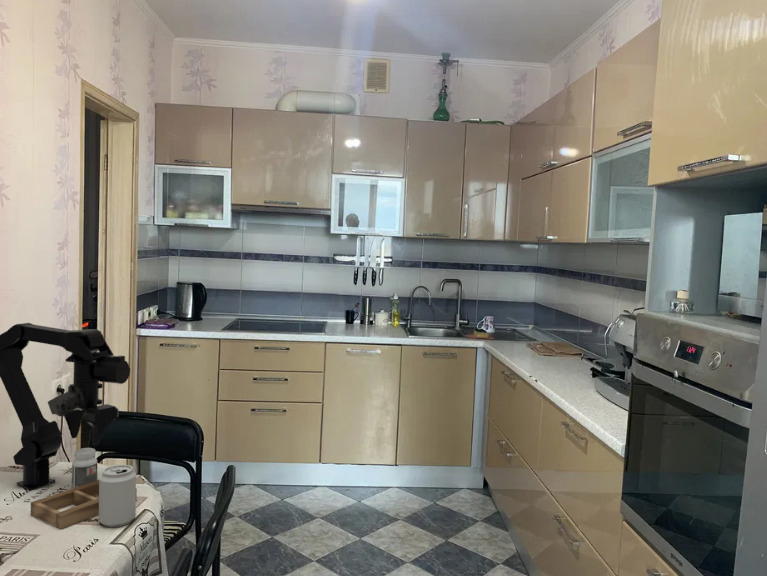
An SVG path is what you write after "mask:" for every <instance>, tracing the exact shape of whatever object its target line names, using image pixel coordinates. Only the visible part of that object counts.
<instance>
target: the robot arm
mask: <svg viewBox="0 0 767 576" xmlns="http://www.w3.org/2000/svg"><path fill="white" fill-rule="evenodd" d="M30 342H34V343H39V344H45V345H51V346H58V347H60V348H63V349H64V350H65V352H69V353H71V354H70V356H68V357H67V358H66V359H65V362H67V363H73V377H72V379H73V381H72V382H73V383H70V384H69V385H68V386H67V389H68V390H67V391H66V392H65V393H62V394H59V395H57V396H56V397H54V398H51V399H50V400H48V401H47V404H48V405H47V406H48V407H49V409H50V413H51V415H55V416H58V417H63V418H64V419H65V422H66V424H67V428H68V430H69V434H70V436H71V439H76V438H78V434H79V432H80V428H81V425H82V421H83V417H84V415H85V413H86V418H87V420H86V423H87V424H89V425H90V427H91V439H92V445H93V446H95V447H97V446H99V444H100V443H101V440H102V438H104V435H105V433H106V431H107V430H108V427H109V426H110V425H111V423H112V422H113V421H115V420H116V419H117V418H119V408H118V407H116V406H114V405H111V404H108V403H107V404H106V403H105V404H103V399H100V398H99V397H100V395H99V394H100V393H99V391H100V389H103V386H104V385H103V383H110V384H120V385H123V384H124V383H126V382H127V381H128V379H129V377H130V374H131V367H130V364H129V363H128V361H126V356H125V355H114V353H113V351H112V350H111V348H110V346H109V344H108V343H107V341H106V340H105V338H104V335H103V333H102V331H101V330H99V329H95V328H94V329H74V330H73V329H72V330H70V329H62V328H57V327H51V326H45V325H44V326H43V325H39V324H35V323H34V324H33V323H30V322H24V323H16V324H14V325H12V326H11V327H9V328H8V330H6V331H4V332H3V333H0V379H1V382H2V384H3V386H4V388H5V390H6V394H7V395H8V398H9V400H10V402H11V404H12V406H13V408H14V411H15V414H16V415H17V418H18V421H19V422H20V424H21V427H22V429H21V430H22V431H21V435H20V442H21V445H22V447H21V448H20V449H19V451H18V452H16V453H15V454H14V455H13V456H12V458H13V460H14V461H13V462H14V464H15V465H17V466H22V480H20V481H17V482H16V485H17V486H19V487H21V488H24V489H26V490H29V491H31V490H36V489H38V488H41V487H44V486H48V485H51V484H54V483H56V480H55V479H53V478H50V459H51V458H53V457H56V456H57V454H58V452H59V450H60V448H61V445H62V443H63V438H62V435H63V433H62V431H61V430H60V428H59V425H58V423H57V421H56V420H52V421H49V420H47V419H46V418H45V416H43V413H42V411H41V408H40V407H39V404H38V402H37V399H36V398H35V395H34V393H33V391H32V389H31V386H30V383H29V382H28V380H27V377H26V375H25V373H24V371H23V368H22V367H23V360H24V354H23V352H22V351H23V350H25V348H26V347H28V345H29V343H30Z"/></svg>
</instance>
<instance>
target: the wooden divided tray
mask: <svg viewBox="0 0 767 576" xmlns="http://www.w3.org/2000/svg"><path fill="white" fill-rule="evenodd" d="M137 491H138V489H137V487H136V494H137ZM97 496H98V497H97ZM72 505H75V506H73V507H70V508H67V509H65V510H62V511H59V510H61V509H64V508H66V507H69V506H72ZM30 516H31V517H33V518H36V519H37V520H38V519H39V520H40V521H42V522H45V523H46V524H48V525H51V526H53V527H54V528H57V529H59V530H63V529H66V528H68V527H71V526H73V525H74V526H75V525H76V524H79V523H81V522H84V521H86V520H90V519H92V518H95V517H97V516H99V479H97V481H94V482H91V483H88V484H85V485H82V486H79V487H76V488H73V489H72V488H70V489H67V490H64V491H60V492H58V493H55V494H52V495H48V496H46V497H42V498H39V499H37V500H33V501H30Z"/></svg>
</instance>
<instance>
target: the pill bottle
mask: <svg viewBox="0 0 767 576" xmlns="http://www.w3.org/2000/svg"><path fill="white" fill-rule="evenodd" d="M95 455H96V449H95V448H94V447H93V448H92V447H83V448H79V449H76V450H75V451H74V455H73V456H74V458H75V459H74V460H73V461H72V464H71V489H73V488H76V487H79V486H82V485H85V484H88V483H91V482H94V481H97V480H98V459H97V458H96V457H95Z"/></svg>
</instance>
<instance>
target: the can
mask: <svg viewBox="0 0 767 576" xmlns="http://www.w3.org/2000/svg"><path fill="white" fill-rule="evenodd" d="M98 480H99V495H98V498H99V515H98V522H99V523H101V524H102V525H103V526H104V527H107V528H118V527H122V526H125V525H127V524H129V523H130V522H131V521H132V520H133V519H134V518H135V517H136V507H137V506H136V504H137V493H136V488H137V473H136V472H135V471H134V467H133V466H132V465H129V464H115V465H110V466H107V467H105V468H104V469H103V470H102V474H100V476H99V479H98Z"/></svg>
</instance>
